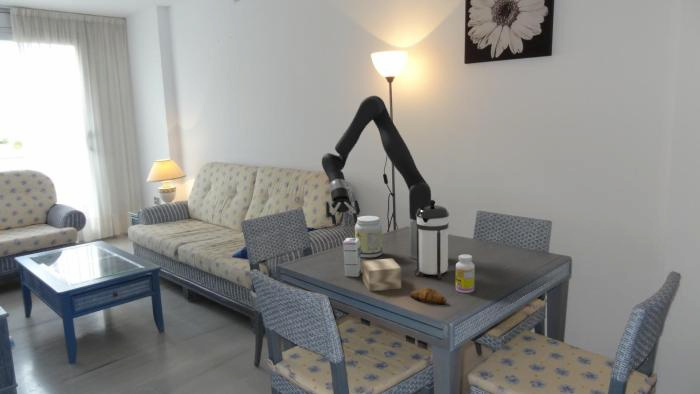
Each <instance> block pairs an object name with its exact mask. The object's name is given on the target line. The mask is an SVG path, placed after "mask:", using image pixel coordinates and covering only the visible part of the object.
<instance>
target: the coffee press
mask: <svg viewBox="0 0 700 394" xmlns="http://www.w3.org/2000/svg"><path fill="white" fill-rule="evenodd" d="M429 203H430V205H426V206H422V207H420V208H419V209H418V210H417V212H416V216H417V222H416V227H417V259H416V269H415V271H414V274H413V275H414V276H416V277H419V276H420V275H421V274H424V275H432V276H433V275H435V276H436V279H437V280H438V281H440V280H442V279H443V278H442V274H444V273H450V272H451V269H450V267H449V227H450V226H449V216H450V213H449V211H448V209H447V208H446V207H444V206H443V205H437V204H436V201H435V200H434V199H431V201H430V202H429Z"/></svg>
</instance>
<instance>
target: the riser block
mask: <svg viewBox="0 0 700 394" xmlns="http://www.w3.org/2000/svg"><path fill="white" fill-rule="evenodd" d="M361 265H362V266H361V270H362V281H363V283H364V284H365V286H366V288H367V289H368V291H369V292H375V291H376V292H377V291H384V290H394V289H395V290H396V289H401V288H402V267H401V266H400V265H399V264H398V263H397V262H396V261H395V259H393V258H392V257H391V258H380V259H368V260H361Z"/></svg>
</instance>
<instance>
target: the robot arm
mask: <svg viewBox="0 0 700 394" xmlns="http://www.w3.org/2000/svg"><path fill="white" fill-rule="evenodd" d="M372 121H373V123H374V124H375V126H376V128H377V129H378V133H379V136H380V141H381V144H382V148H383V150H384V152H385V154H386V155H387V158H388V159H389V160H390V162H391V164H392V165H393V167H394V168H395V169H396V170H397V171H398V173H399V174H400V175H401V176H402V178H403V180H404V183H405V184H406V187H407V188H408V192H409V193H408V194H409V195H408V196H409V197H408V198H409V199H408V201H409V202H408V203H409V205H408V206H409V208H408V209H409V210H408V211H409V256H410V258H412V259H416V260H417V227H416V222H417V216H416V212H417V210H418V209H419V208H420V207H422V206H426V205H430V203H429V202H430V201H431V200H432V191H431V187H430V185H429V184H428V183H427V181H426V179H425V178H424V177H423V176H422V174H421V172H420V171H419V169H418V167H417V165H416V163H415V160H414V157H413V156H412V154H411V152H410V149H409V148H408V146H407V144H406V142H405V140H404V139H403V137H402V135H401V133H400V131H399V130H398V128H397V127H396V125H395V123H394V122H393V119H392V118H391V116H390V113H389V111H388V108H387V106H386V103H385V102H384V99H382V98H381V97H380V96H378V95H370V96H368V97H366V98H364V99H363V100H362V101H361V103H360V104H359V107H358V109H357V110H356V112H355V115H354V117H353V119H352V121H351V123H350V124H349V126H348V127H347V129H346V130H345V132H344V133H343V134H342V136H341V137H340V138H339V140H337V141H338V142H337V143H336V145H335V146H334V150H335V152H336V153H337V154H338V155H336V154H333V153H330V152H327V153H325V154H323V156H322V157H321V167H322V168H323V171H324V173H325V175H326V176H327V179H328V184H329V193H330V198H331V203H329V202H325V213H326V214H325V215H326V218H331V222H332V224H333V226H336V225H337V219H336V215H337V214H338V213H339V214H340V213H348V214H349V215H351V216H352V221H353V224H354V225H356V224H357V223H356V222H357V218H358V216H360V212H361V209H360V205H359V202H358V200H357V199H356V200H354V201H351V200H350V196H349V195H350V194H349V190H348V185H347V183H346V179H345V175H344V173H343V171H342V170H343V169H344V168H345V166H346V163H347V160H348V157H349V154H350V153H351V152H352V150H353V149H354V147H355V146H356V144H357V143H358V141H359V140H360V137H361V135H362V133H363V132H364V130H365V128H367V126H368V125H369V124H370V123H371V122H372ZM331 208H333V211H332V212H331V210H330V209H331Z"/></svg>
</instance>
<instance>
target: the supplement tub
mask: <svg viewBox="0 0 700 394" xmlns="http://www.w3.org/2000/svg"><path fill="white" fill-rule="evenodd" d="M354 238H359V239H360V258H364V259H371V258H372V259H373V258H378V257H379V256H381V255H383V227H382V224H381V219H380V217H379V216H375V215H363V216H357V222H356V223H355V224H354Z"/></svg>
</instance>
